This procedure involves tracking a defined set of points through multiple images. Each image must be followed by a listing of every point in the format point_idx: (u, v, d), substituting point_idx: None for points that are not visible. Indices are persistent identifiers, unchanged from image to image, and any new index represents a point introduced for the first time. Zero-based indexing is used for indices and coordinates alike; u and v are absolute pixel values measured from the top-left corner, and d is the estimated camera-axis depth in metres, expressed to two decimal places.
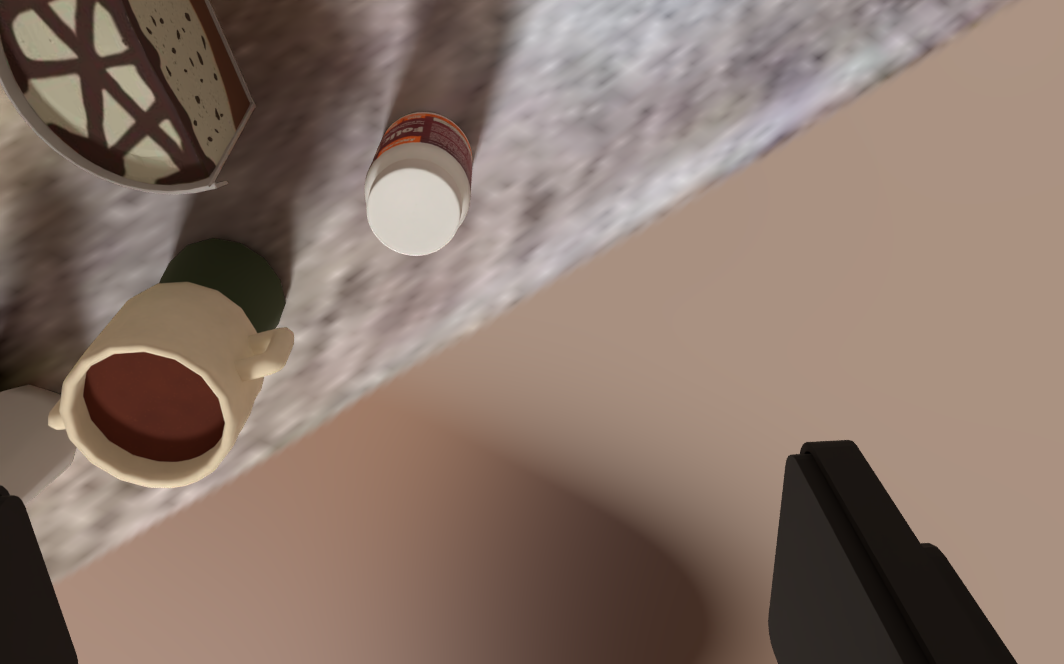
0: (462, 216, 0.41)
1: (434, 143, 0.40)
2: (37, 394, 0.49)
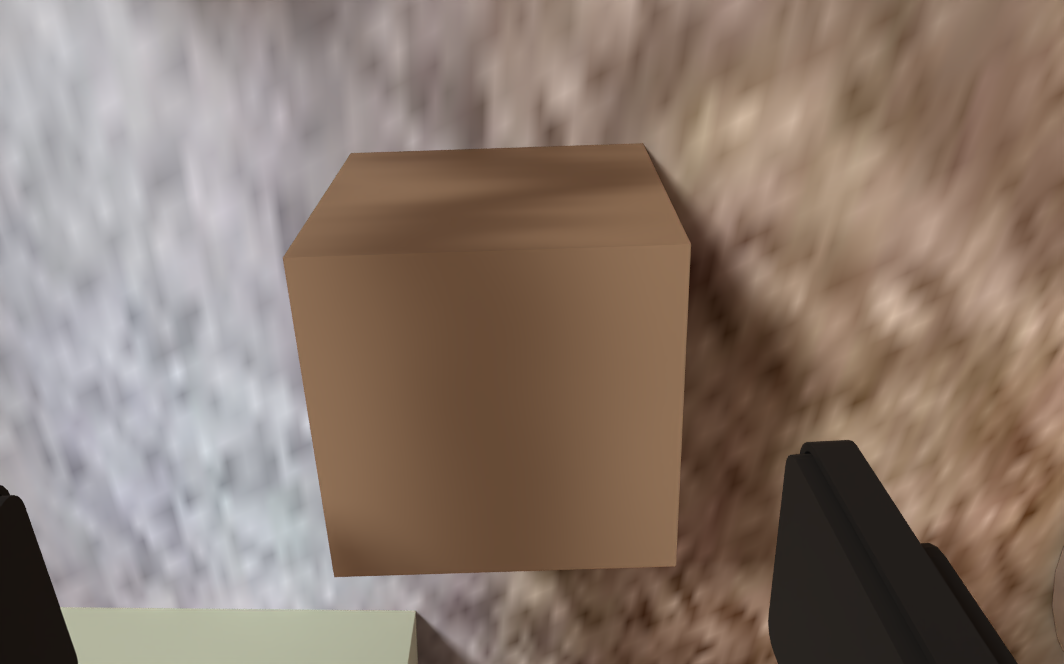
0: None
1: None
2: None
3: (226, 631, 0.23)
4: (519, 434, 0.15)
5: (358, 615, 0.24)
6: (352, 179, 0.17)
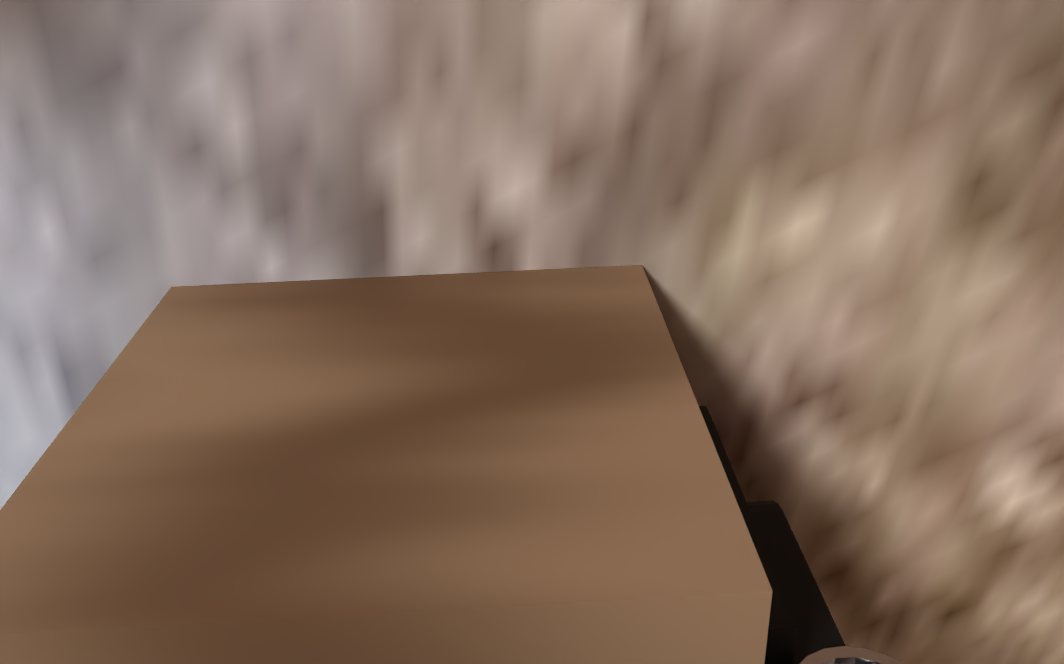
0: None
1: None
2: None
3: None
4: None
5: None
6: (148, 358, 0.10)
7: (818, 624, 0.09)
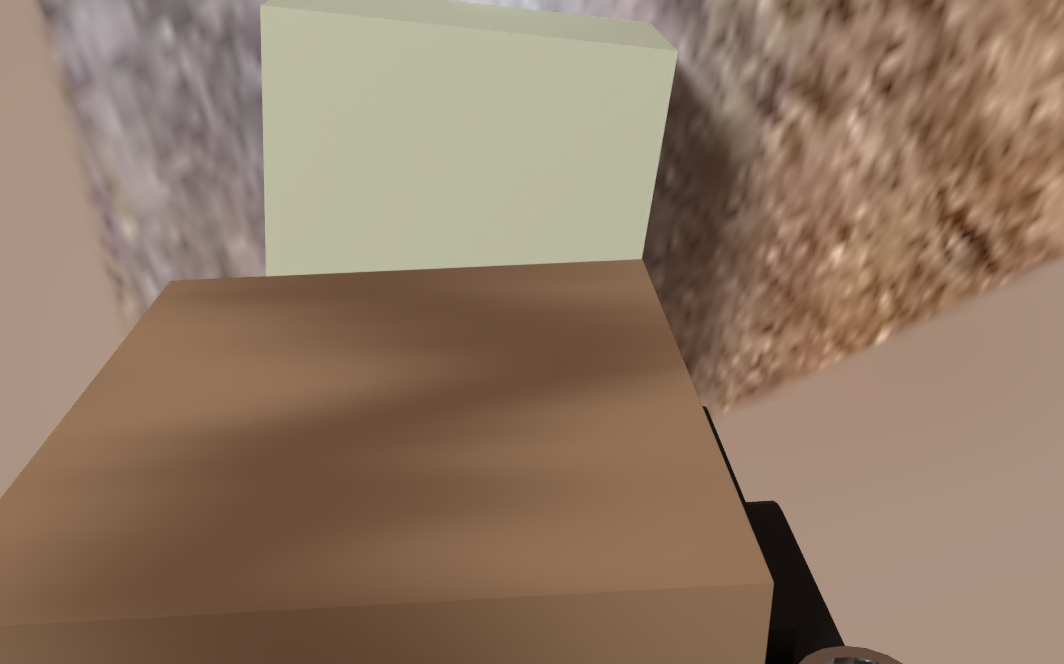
0: None
1: None
2: None
3: (486, 8, 0.25)
4: None
5: (600, 18, 0.26)
6: (146, 352, 0.10)
7: (818, 624, 0.09)
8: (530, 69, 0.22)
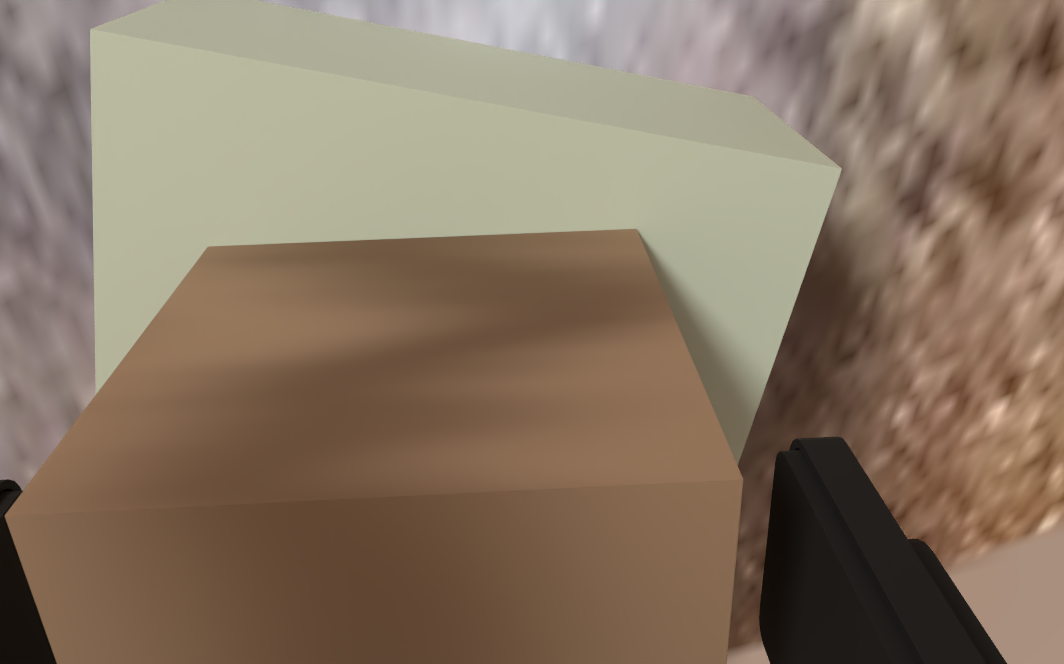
0: None
1: None
2: None
3: (501, 55, 0.16)
4: None
5: (678, 83, 0.17)
6: (192, 305, 0.11)
7: None
8: (581, 180, 0.13)
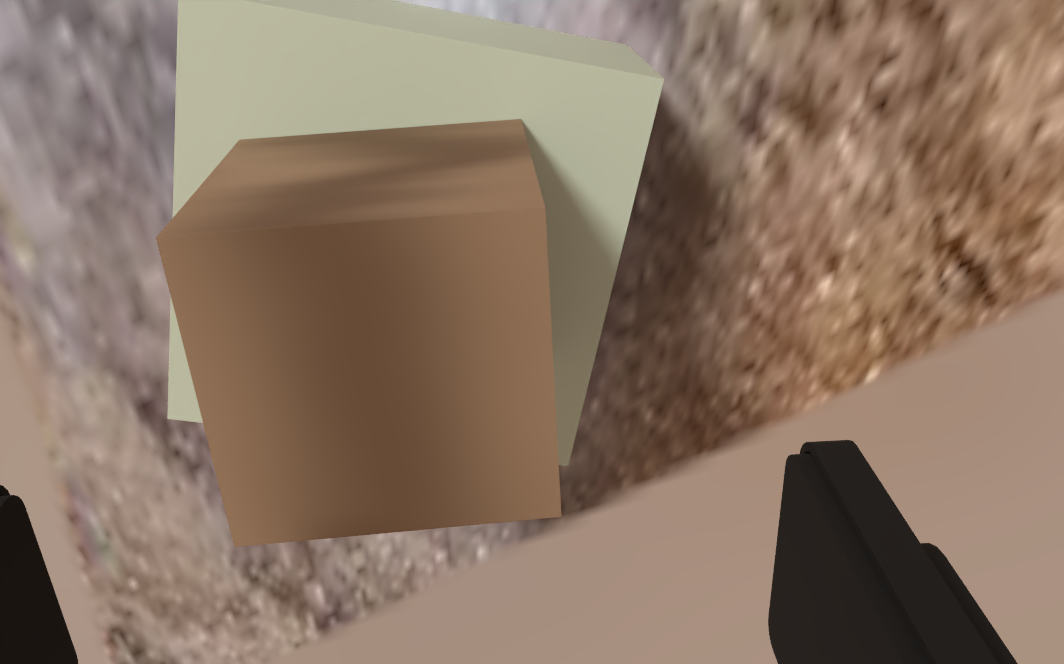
0: None
1: None
2: None
3: (446, 14, 0.22)
4: (399, 397, 0.16)
5: (573, 35, 0.23)
6: (236, 164, 0.18)
7: None
8: (495, 87, 0.19)
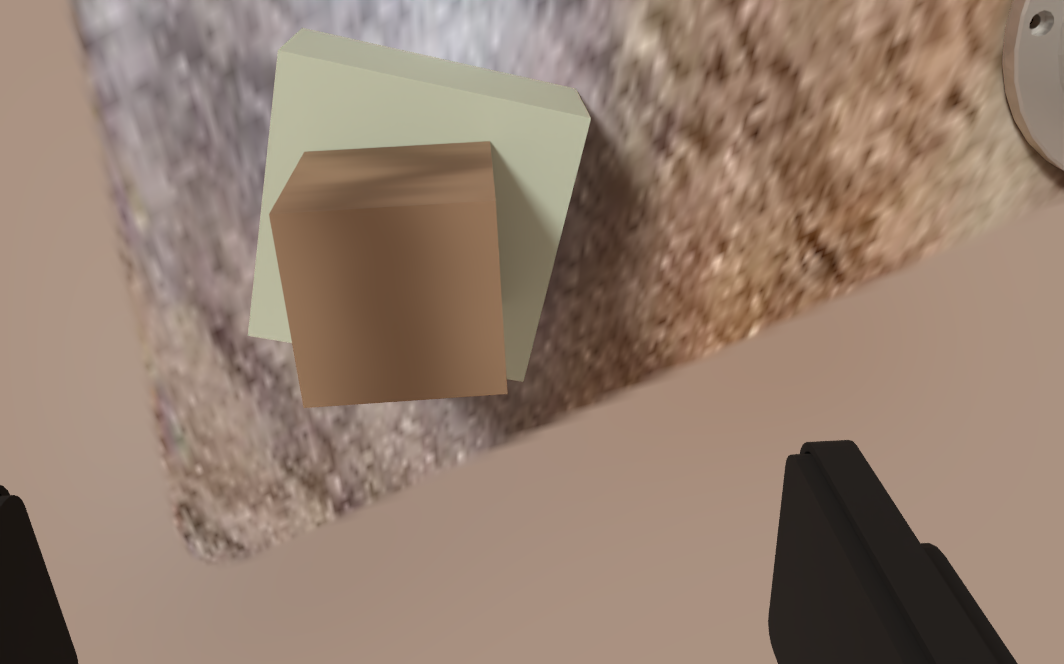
0: None
1: None
2: None
3: (449, 64, 0.32)
4: (408, 314, 0.26)
5: (537, 80, 0.33)
6: (306, 169, 0.28)
7: None
8: (479, 119, 0.29)
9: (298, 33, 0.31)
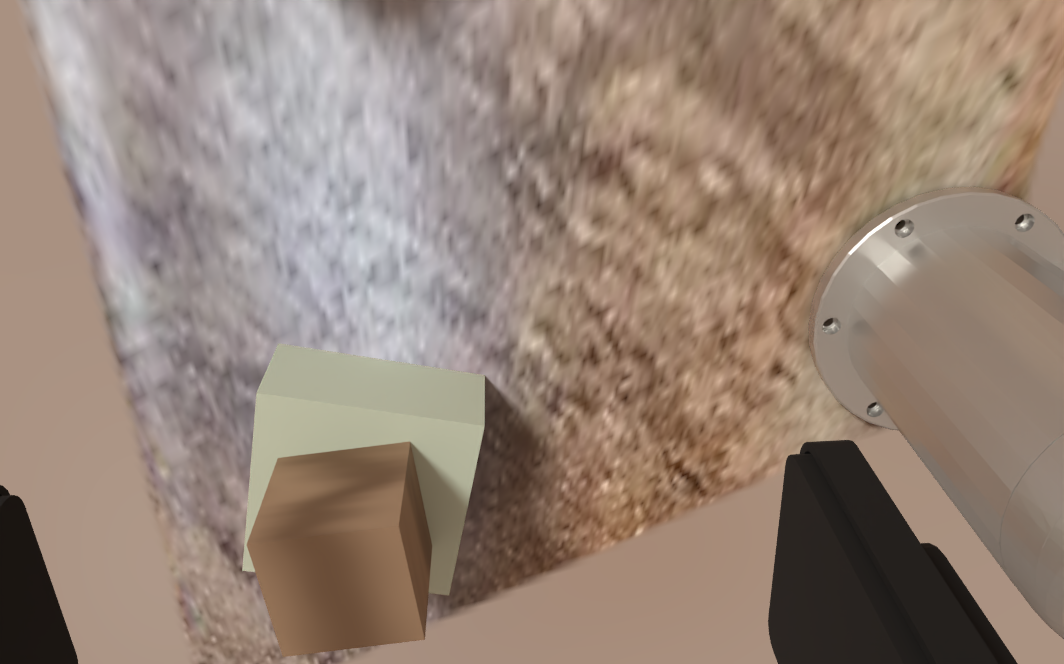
0: None
1: None
2: None
3: (387, 367, 0.44)
4: (348, 596, 0.37)
5: (455, 371, 0.45)
6: (276, 483, 0.39)
7: None
8: (403, 429, 0.41)
9: (274, 355, 0.43)
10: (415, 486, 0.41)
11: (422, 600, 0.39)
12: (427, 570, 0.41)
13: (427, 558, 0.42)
